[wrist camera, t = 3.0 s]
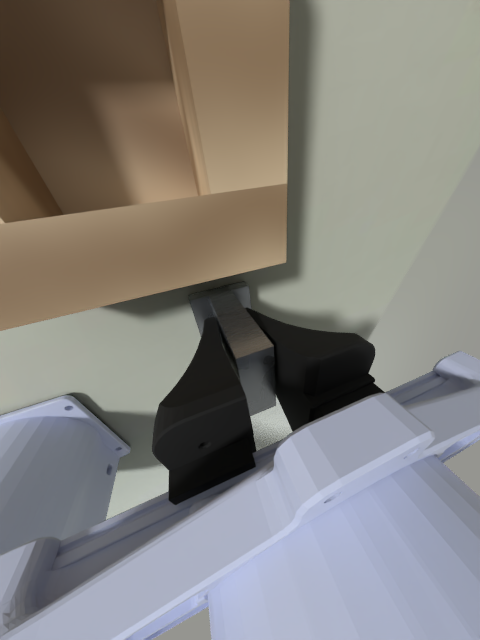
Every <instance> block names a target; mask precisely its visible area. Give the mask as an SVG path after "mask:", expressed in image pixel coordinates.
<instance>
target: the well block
mask: <svg viewBox="0 0 480 640" xmlns="http://www.w3.org/2000/svg"><path fill="white" fill-rule="evenodd" d="M289 6H290V0H0V331H2V330H6V329H10V328H14V327H19V326H23V325H27V324H31V323H35V322H39V321H44V320H48V319H52V318H56V317H60V316H65V315H69V314H73V313H77V312H81V311H85V310H90V309H94V308H98V307H102V306H106V305H111V304H115V303H119V302H123V301H127V300H131V299H136V298H140V297H144V296H148V295H152V294H157V293H161V292H165V291H169V290H173V289H177V288H182V287H186V286H190V285H194V284H198V283H203V282H207V281H211V280H215V279H219V278H223V277H228V276H232V275H236V274H240V273H244V272H249V271H253V270H257V269H261V268H265V267H269V266H274V265H278V264H282V263H286V245H287V166H288V86H289Z"/></svg>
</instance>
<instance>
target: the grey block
mask: <svg viewBox="0 0 480 640" xmlns="http://www.w3.org/2000/svg"><path fill="white" fill-rule="evenodd" d="M189 301H190V304H191V307H192V310H193V313H194V316H195V319H196V322H197V325H198V328H199V332H200V335H201V336H202V332H203V327H204V320H205V319H207V318H211V317H215V319H216V321H217V325H218V329H219V333H220V337H221V341H222V345H223V347H224V350H225V352H226V354H227V356H228V359H229V361H230V363H231V365H232V367H233V369H234V371H235V373H236V375H237V377H238V379H239V381H240V383H241V385H242V387H243V390H244V392H245V395H246V398H247V403H248V408H249V413H250V416H252V415H254V414H257V413H259V412H261V411H264V410H266V409H269V408H271V407H274V406H276V394H275V365H274V346H273V344H272V343H271V342H270V340H269V339H268V338H267V337H266V335H265V334H264V333H263V331H262V330H261V329H260V327H259V326H258V325H257V323H256V322H255V321H254V320H253V318H252V317H251V316H250V314H249V313H248V312H247V310H246V309H245V308H246V307H248V308H250V309H251V301H250V292H249V286H248V285H247V284H246V283H245V282H244V281H243V282H239V283H235V284H231V285H227V286H223V287H219V288H215V289H211V290H207V291H203V292H199V293H195V294H191V295H189Z"/></svg>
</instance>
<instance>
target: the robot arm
mask: <svg viewBox="0 0 480 640" xmlns="http://www.w3.org/2000/svg"><path fill="white" fill-rule="evenodd" d="M245 309H246V310H247V312H248V313H249V314H250V316H251V317H252V318H253V320H254V321H255V322H256V323H257V325H258V326H259V327H260V329H261V330H262V331H263V333H264V334H265V335H266V337H267V338H268V339H269V340H270V342H271V343H272V344H273V346H274V365H275V394H276V396H277V398H278V400H279V402H280V404H281V406H282V409H283V411H284V413H285V415H286V417H287V420H288V422H289V424H290V426H291V429H292V431H293V432H292V433H290V434H289V435H288V436H287V437H286V438H285V439H282V440H280V441H278V442H276V443H274V444H271V445H269V446H267V447H265V448H263V449H260V450H258V451H256V447H255V442H254V437H253V435H254V434H253V429H252V424H251V418H250V413H249V408H248V403H247V398H246V395H245V392H244V390H243V387H242V385H241V383H240V381H239V379H238V377H237V375H236V373H235V371H234V369H233V367H232V365H231V363H230V361H229V359H228V356H227V354H226V352H225V350H224V347H223V345H222V341H221V337H220V333H219V329H218V325H217V321H216V319H215V317H211V318H207V319H205V320H204V327H203V332H202V336H201V340H200V343H199V346H198V349H197V351H196V353H195V355H194V357H193V360H192V361H191V363H190V365H189V367H188V368H187V370H186V372H185V373H184V375H183V376H182V377H181V379H180V380H179V382H178V383H177V384H176V386H175V387H174V388H173V389H172V390H171V392H170V393H169V394H168V395H167V396H166V397H165V398H164V400H163V401H162V402H161V403H160V404H159V407H158V411H157V415H156V419H155V424H154V432H153V444H152V452H153V454H154V456H155V457H156V458H157V459H158V460H159V461H160V462H161V463H162V464H163V465H164V466H165V467H166V468H167V469H168V470H169V492H166V493H164V494H162V495H160V496H158V497H155V498H153V499H151V500H149V501H147V502H144V503H142V504H140V505H138V506H136V507H134V508H131V509H129V510H127V511H125V512H123V513H120V514H118V515H116V516H114V517H112V518H109V519H107V520H106V516H107V512H108V507H109V503H110V498H111V494H112V490H113V485H114V481H115V476H116V472H117V468H118V463H119V459H120V457H123V456H125V455H127V454H129V453H130V447H129V446H128V445H127V444H126V443H125V442H124V441H122V440H121V439H120V438H119V437H118V436H117V435H116V434H115V433H114V432H112V431H111V430H110V429H109V428H108V427H107V426H106V425H105V424H103V423H102V422H101V421H100V420H99V419H98V418H97V417H96V416H95V415H93V414H92V413H91V412H90V411H89V410H88V409H87V408H86V407H84V406H83V405H82V404H81V403H80V402H79V401H78V400H77V399H76V398H74V397H73V396H70V395H65V396H61V397H57V398H54V399H51V400H48V401H45V402H42V403H39V404H35V405H32V406H29V407H26V408H23V409H20V410H16V411H13V412H10V413H7V414H4V415H1V416H0V640H152V639H154V638H155V637H157V636H159V635H161V634H162V633H164V632H166V631H167V630H169V629H171V628H173V627H174V626H176V625H178V624H179V623H181V622H183V621H185V620H186V619H188V618H190V617H191V616H193V615H195V614H197V613H198V612H200V611H202V610H204V609H205V608H207V607H209V614H210V615H209V616H210V627H211V639H212V640H480V497H479V496H478V495H477V494H476V493H475V492H474V491H473V490H472V489H471V488H470V487H468V486H467V485H466V484H465V483H464V482H463V481H462V480H461V479H460V478H459V477H458V476H457V475H455V474H454V473H453V472H452V471H451V470H450V469H449V468H448V467H447V466H446V465H444V464H443V463H444V462H445V461H447V460H448V459H450V458H452V457H453V456H455V455H456V454H458V453H460V452H461V451H463V450H464V449H466V448H467V447H469V446H470V445H472V444H474V443H476V442H477V441H479V440H480V360H479V359H477V358H475V357H473V356H471V355H469V354H467V353H464V352H462V351H457V352H455V353H453V354H450V355H448V356H446V357H444V358H442V359H441V360H439V361H438V362H437V364H436V365H435V366H434V368H433V371H431V372H429V373H427V374H425V375H423V376H420V377H418V378H416V379H414V380H412V381H409V382H407V383H405V384H403V385H401V386H398V387H396V388H394V389H392V390H390V391H388V392H384V391H382V390H381V389H380V388H379V387H378V386H376V385H375V384H374V382H375V379H374V378H373V377H372V376H371V375H370V374H368V373H369V370H370V368H371V365H372V363H373V360H374V357H375V348H374V346H373V344H371V343H369V342H368V341H366V340H365V339H363V338H362V337H360V336H359V335H357V334H355V333H337V332H326V331H317V330H311V329H306V328H301V327H296V326H293V325H289V324H286V323H282V322H280V321H277V320H274V319H272V318H269V317H267V316H265V315H263V314H260V313H258V312H256V311H254V310H252V309H250V308H248V307H246V308H245Z"/></svg>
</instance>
